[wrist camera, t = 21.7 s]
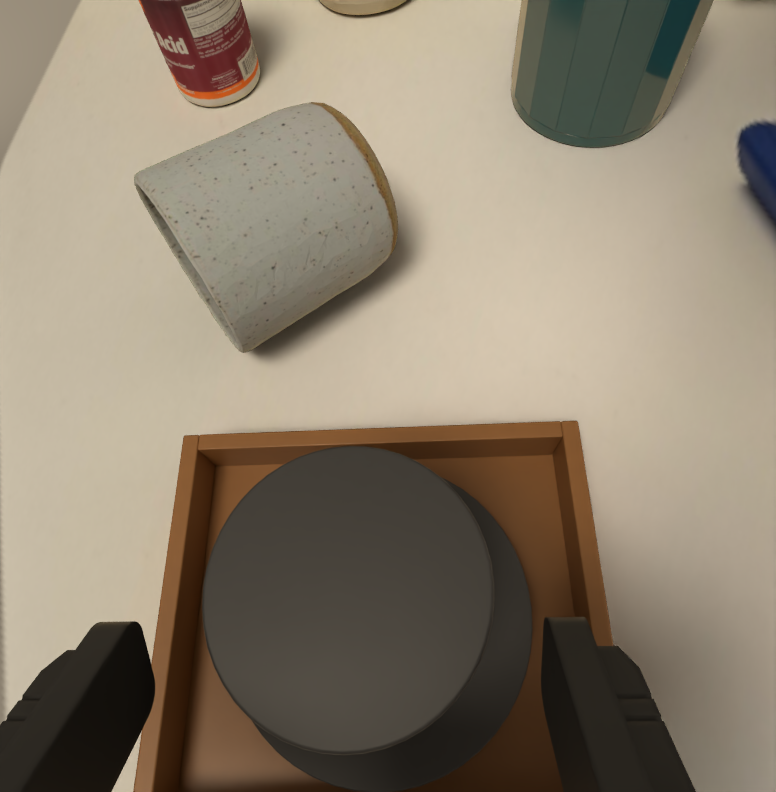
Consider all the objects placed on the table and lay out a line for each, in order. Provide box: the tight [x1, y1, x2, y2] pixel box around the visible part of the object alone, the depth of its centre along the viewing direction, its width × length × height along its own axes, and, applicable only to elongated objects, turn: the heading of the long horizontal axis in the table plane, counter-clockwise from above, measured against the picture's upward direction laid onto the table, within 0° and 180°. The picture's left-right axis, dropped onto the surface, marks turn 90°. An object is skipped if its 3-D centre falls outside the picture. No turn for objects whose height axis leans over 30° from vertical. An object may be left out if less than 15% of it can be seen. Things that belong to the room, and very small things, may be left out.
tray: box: [133, 421, 613, 792], centre depth 19 cm, size 14×12×2 cm
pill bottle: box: [139, 0, 260, 107], centre depth 29 cm, size 5×5×8 cm
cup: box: [511, 0, 714, 147], centre depth 26 cm, size 8×8×9 cm
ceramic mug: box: [134, 102, 398, 353], centre depth 24 cm, size 11×8×8 cm
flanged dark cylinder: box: [202, 446, 533, 792], centre depth 16 cm, size 10×10×9 cm
